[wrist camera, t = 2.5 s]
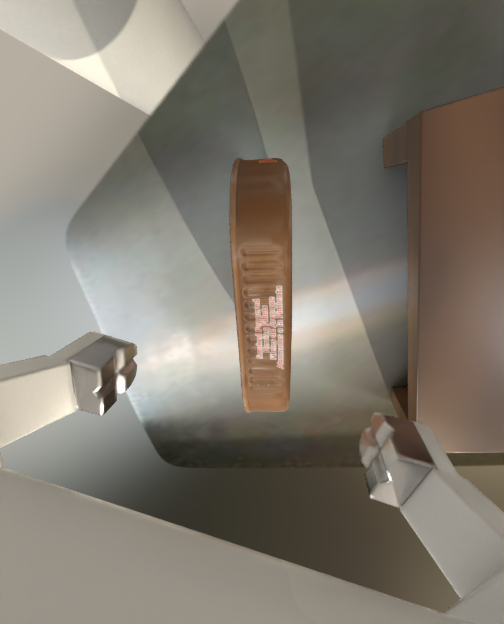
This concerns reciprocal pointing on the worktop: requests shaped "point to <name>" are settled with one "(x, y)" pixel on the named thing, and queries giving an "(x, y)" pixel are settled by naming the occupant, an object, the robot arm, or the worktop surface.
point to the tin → (262, 279)
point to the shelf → (455, 271)
